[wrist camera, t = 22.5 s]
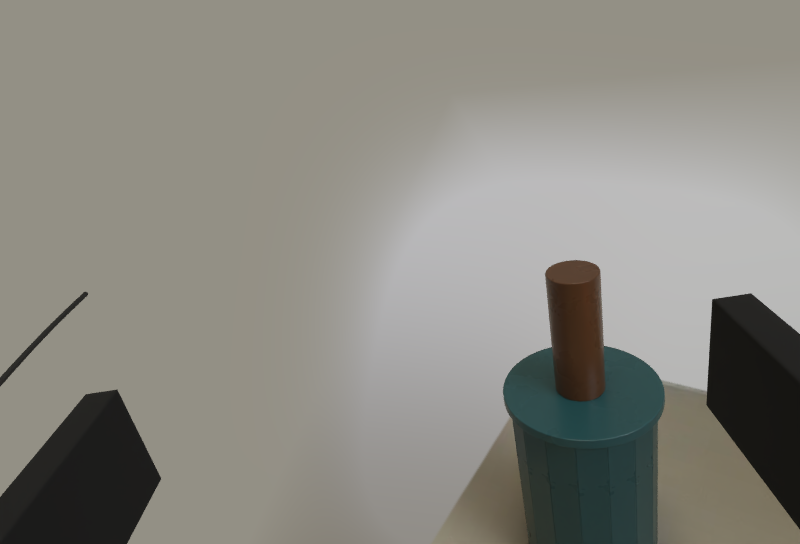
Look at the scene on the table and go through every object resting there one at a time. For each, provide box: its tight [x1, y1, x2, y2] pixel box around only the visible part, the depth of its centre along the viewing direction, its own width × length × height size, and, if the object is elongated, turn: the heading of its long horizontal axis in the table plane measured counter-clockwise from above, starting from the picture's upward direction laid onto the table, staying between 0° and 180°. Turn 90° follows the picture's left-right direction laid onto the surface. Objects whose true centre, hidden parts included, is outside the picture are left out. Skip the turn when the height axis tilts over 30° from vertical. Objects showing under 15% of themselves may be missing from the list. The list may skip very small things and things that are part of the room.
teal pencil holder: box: [513, 421, 658, 544], centre depth 36 cm, size 8×8×12 cm
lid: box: [503, 260, 665, 449], centre depth 32 cm, size 9×9×9 cm
